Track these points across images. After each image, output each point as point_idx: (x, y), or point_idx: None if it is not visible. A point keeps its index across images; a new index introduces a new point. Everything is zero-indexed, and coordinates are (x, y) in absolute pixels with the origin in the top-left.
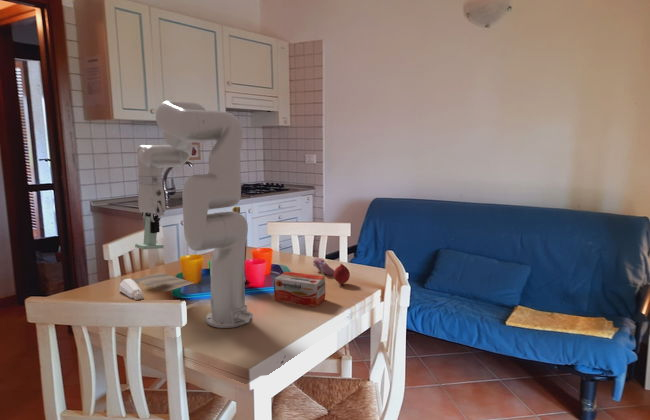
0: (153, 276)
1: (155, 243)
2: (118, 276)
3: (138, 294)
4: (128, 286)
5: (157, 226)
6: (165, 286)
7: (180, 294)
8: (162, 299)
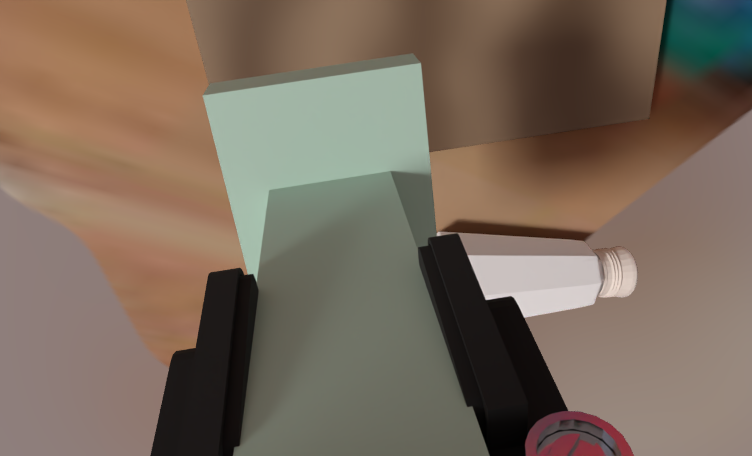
0: (251, 16)
1: (394, 186)
2: (8, 183)
3: (634, 288)
4: (528, 316)
5: (533, 363)
6: (558, 62)
7: (723, 29)
8: (687, 154)
